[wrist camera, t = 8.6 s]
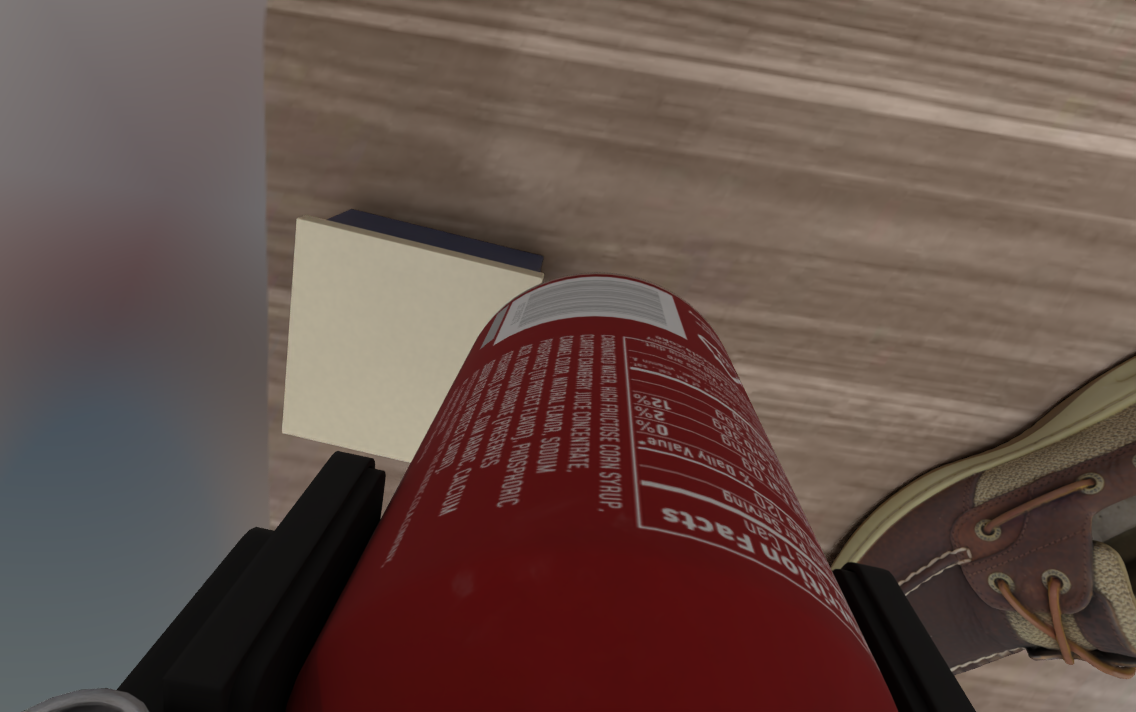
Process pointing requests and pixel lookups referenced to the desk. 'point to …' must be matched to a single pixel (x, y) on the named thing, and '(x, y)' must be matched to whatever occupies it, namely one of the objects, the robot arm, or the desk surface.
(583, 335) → the soda can
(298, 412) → the navy box with lid
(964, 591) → the boat shoe
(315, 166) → the desk surface
